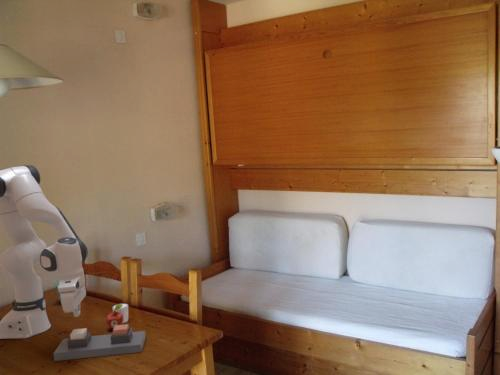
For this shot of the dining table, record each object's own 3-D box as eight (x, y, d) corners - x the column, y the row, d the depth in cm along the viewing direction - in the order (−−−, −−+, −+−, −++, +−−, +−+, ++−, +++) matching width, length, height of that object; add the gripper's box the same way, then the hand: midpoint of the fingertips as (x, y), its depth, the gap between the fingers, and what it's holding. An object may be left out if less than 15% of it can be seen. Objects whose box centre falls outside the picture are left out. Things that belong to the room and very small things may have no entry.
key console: (54, 361, 186) (52, 345, 185) (64, 346, 198) (62, 331, 198) (141, 352, 188) (140, 336, 187) (145, 337, 201) (144, 323, 200)
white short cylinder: (131, 318, 224) (130, 303, 223) (126, 324, 217) (125, 308, 217) (117, 318, 225) (115, 303, 224) (111, 324, 218) (109, 309, 217)
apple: (117, 332, 208) (115, 309, 207) (104, 331, 211) (101, 308, 210) (128, 325, 216) (125, 303, 214) (114, 324, 218) (112, 302, 217)
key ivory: (70, 342, 189) (70, 334, 189) (74, 336, 194) (73, 329, 194) (84, 340, 190) (83, 333, 189) (87, 335, 195) (86, 328, 194)
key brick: (113, 337, 191) (113, 330, 190) (116, 332, 196) (115, 325, 195) (127, 336, 191) (126, 329, 191) (129, 331, 196) (128, 324, 196)
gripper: (71, 273, 199) (76, 307, 201) (56, 289, 179) (61, 326, 180) (87, 271, 200) (91, 305, 201) (74, 287, 179) (79, 324, 181)
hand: (77, 315), depth 191 cm, fingers closed
